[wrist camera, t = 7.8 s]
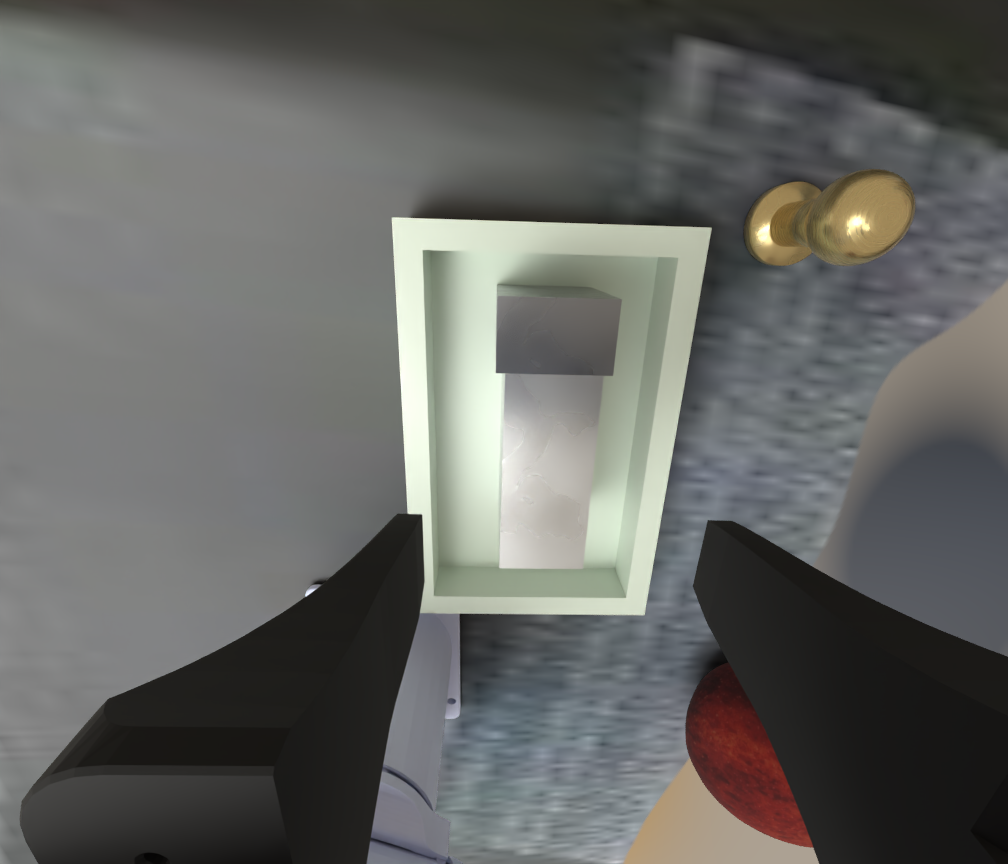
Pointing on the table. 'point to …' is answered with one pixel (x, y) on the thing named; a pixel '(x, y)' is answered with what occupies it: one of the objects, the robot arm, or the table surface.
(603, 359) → the strut
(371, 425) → the table surface
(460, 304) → the tray
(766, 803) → the apple
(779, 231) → the door knob
